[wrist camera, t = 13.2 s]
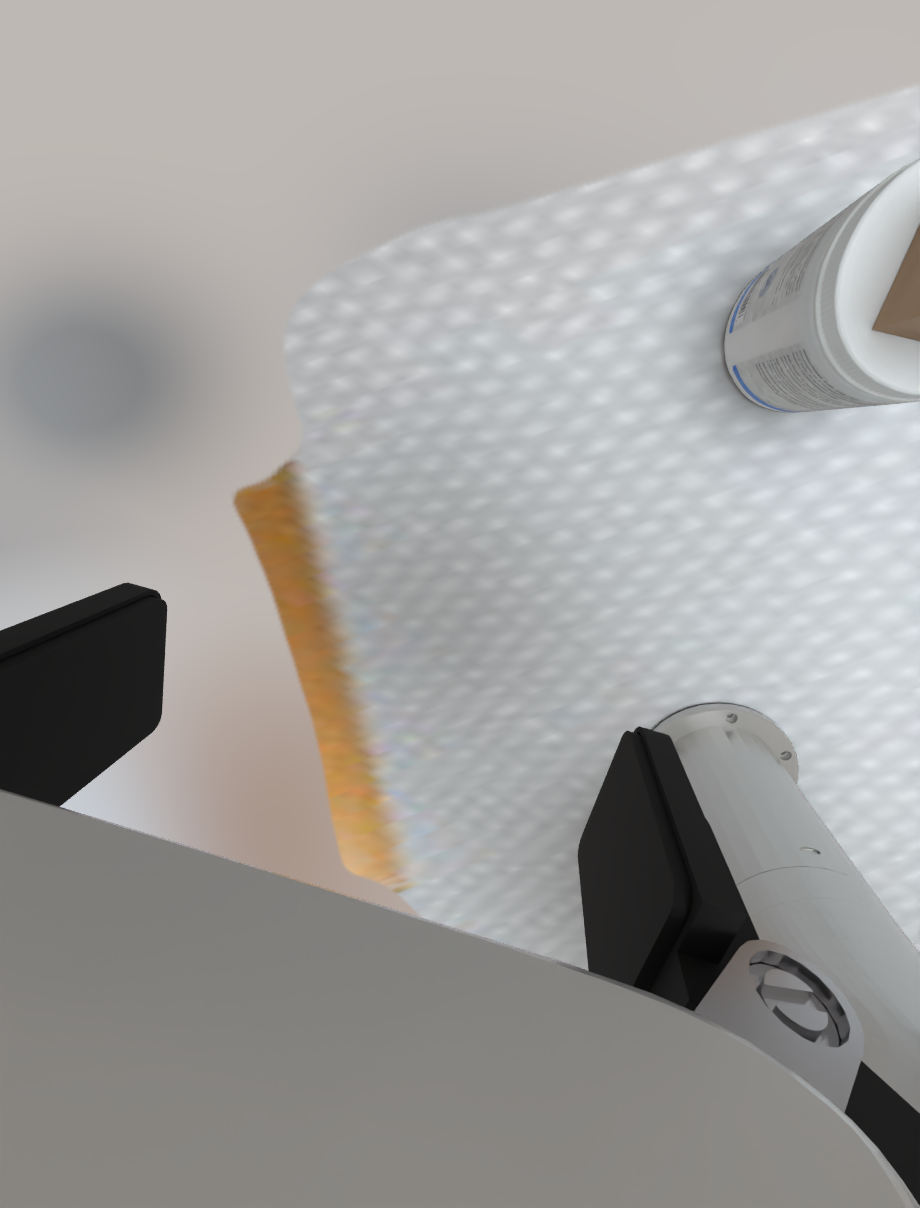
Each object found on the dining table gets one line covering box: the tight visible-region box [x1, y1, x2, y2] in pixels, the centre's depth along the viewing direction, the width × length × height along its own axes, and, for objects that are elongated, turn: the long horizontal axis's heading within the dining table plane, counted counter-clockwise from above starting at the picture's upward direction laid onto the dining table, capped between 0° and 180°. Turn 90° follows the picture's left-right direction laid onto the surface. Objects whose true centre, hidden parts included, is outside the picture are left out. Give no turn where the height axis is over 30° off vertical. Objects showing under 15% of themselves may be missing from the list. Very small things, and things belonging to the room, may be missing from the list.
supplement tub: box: [724, 159, 920, 412], centre depth 28 cm, size 10×10×15 cm
